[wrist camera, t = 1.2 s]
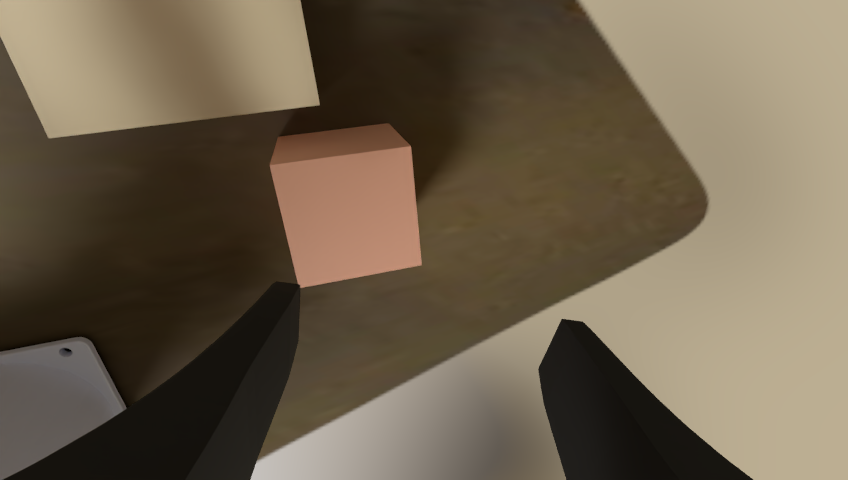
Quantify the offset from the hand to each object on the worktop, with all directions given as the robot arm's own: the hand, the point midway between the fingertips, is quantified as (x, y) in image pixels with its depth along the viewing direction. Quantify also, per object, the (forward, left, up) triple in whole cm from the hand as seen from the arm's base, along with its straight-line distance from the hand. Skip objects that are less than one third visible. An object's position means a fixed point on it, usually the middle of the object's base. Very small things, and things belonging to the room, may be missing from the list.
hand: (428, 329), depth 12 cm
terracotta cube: (-1, +1, -11) cm, 11 cm away
